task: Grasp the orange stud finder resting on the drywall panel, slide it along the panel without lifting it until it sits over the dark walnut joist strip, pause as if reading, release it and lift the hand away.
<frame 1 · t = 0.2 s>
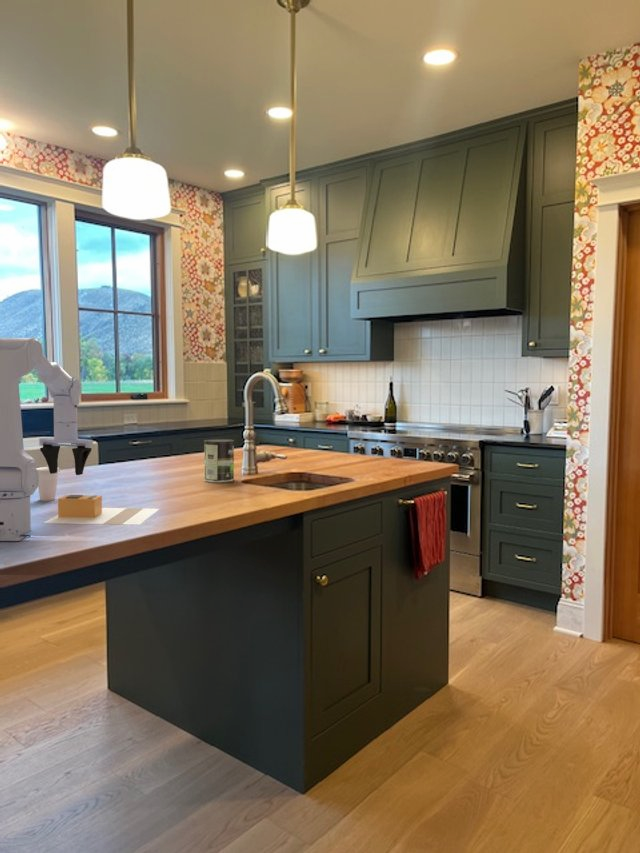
hand: (66, 473, 165), 10 cm above the countertop, fingers open, 7 cm apart
drywall panel: (104, 519, 157), on the countertop
smoothie: (47, 503, 176), on the countertop
coffee can: (219, 481, 219), on the countertop
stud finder: (80, 514, 157), point 1 cm above the countertop, touching drywall panel
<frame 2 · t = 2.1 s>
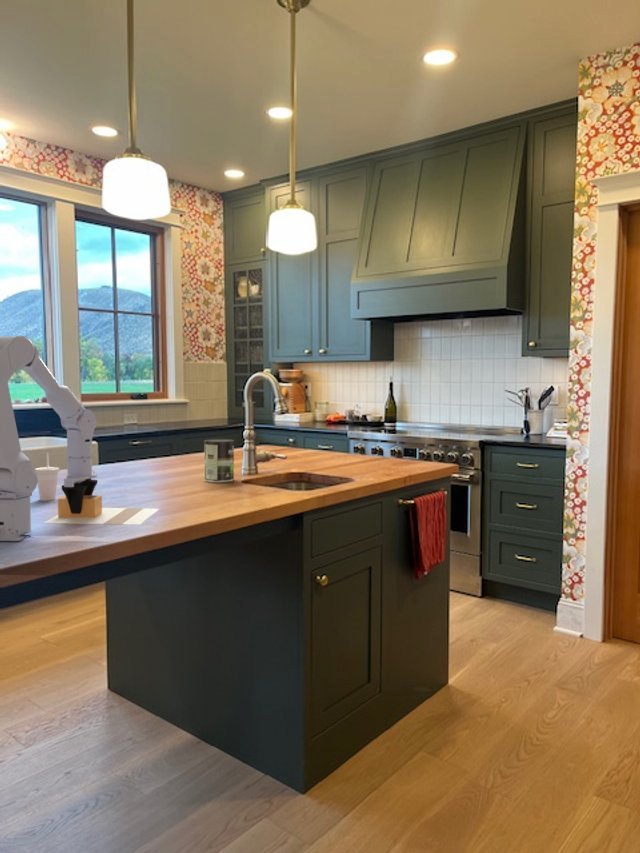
hand: (80, 511, 157), 2 cm above the countertop, fingers closed on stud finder, 5 cm apart
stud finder: (80, 514, 157), point 1 cm above the countertop, touching gripper, drywall panel
everything else where it was.
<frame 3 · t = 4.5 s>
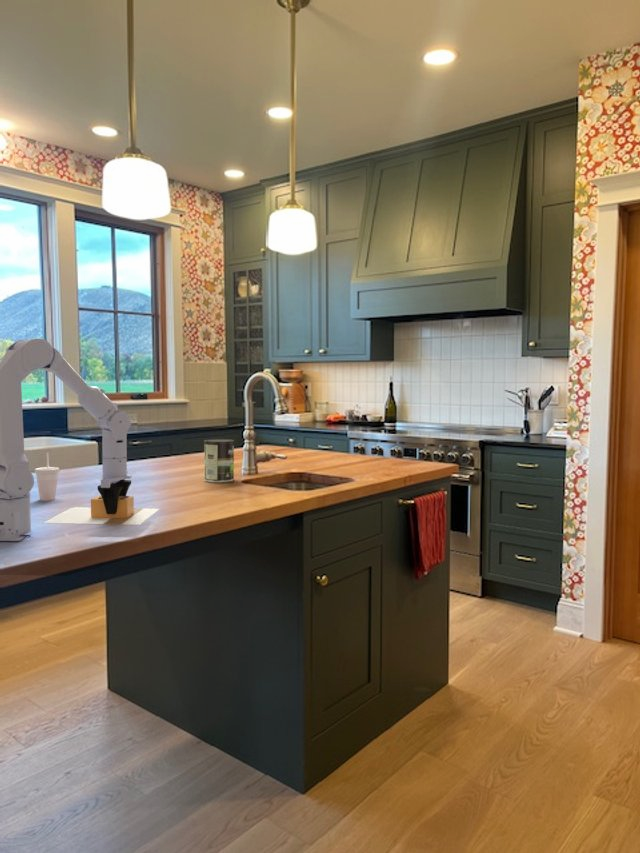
hand: (115, 511, 157), 2 cm above the countertop, fingers closed on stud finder, 5 cm apart
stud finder: (112, 515, 157), point 1 cm above the countertop, touching gripper
everything else where it was.
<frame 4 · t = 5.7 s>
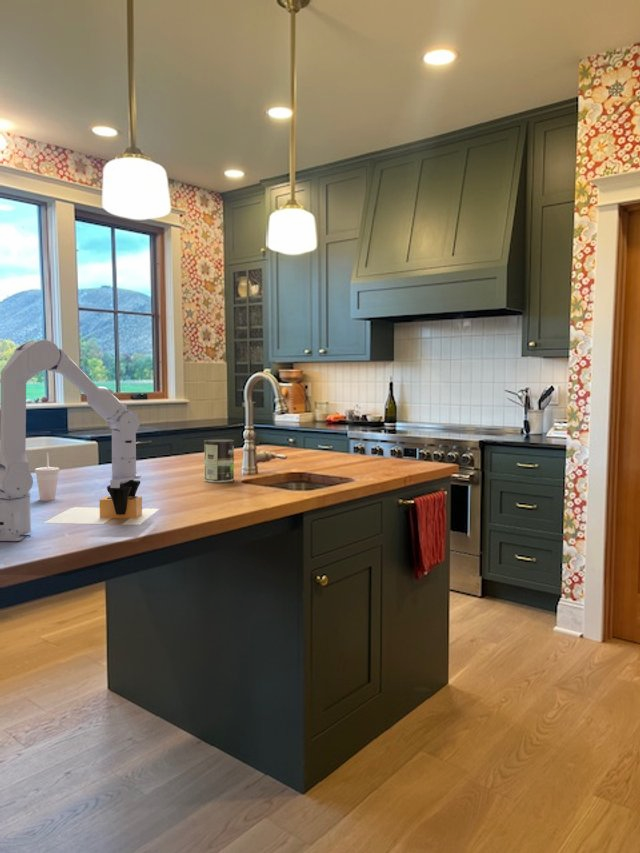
hand: (124, 511, 157), 2 cm above the countertop, fingers closed on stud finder, 5 cm apart
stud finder: (121, 515, 157), point 1 cm above the countertop, touching gripper, drywall panel
everything else where it was.
when the fingers open (2 cm above the countertop, at t = 6.9 s): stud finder stays where it is, resting on drywall panel.
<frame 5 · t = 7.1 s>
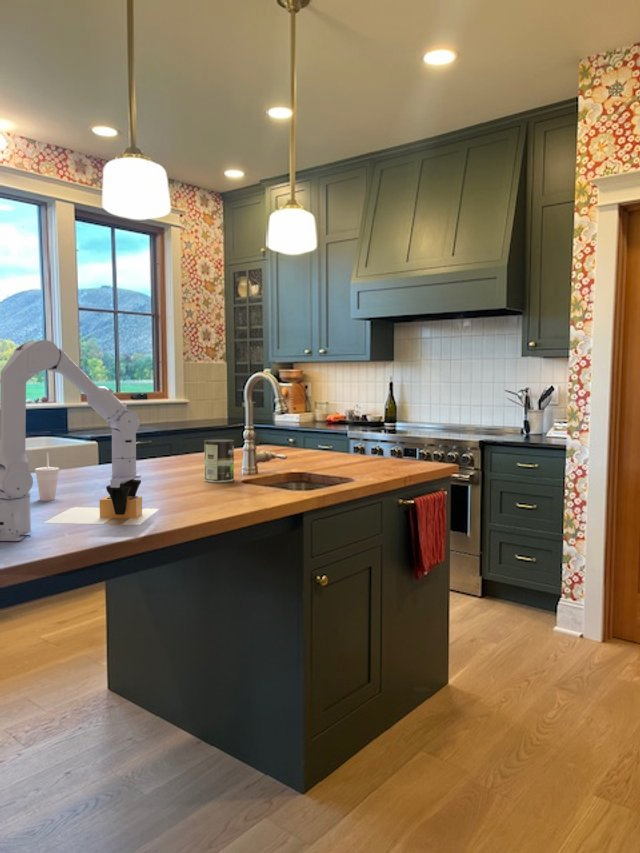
hand: (124, 511, 157), 2 cm above the countertop, fingers open, 6 cm apart
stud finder: (121, 515, 157), point 1 cm above the countertop, touching drywall panel
everything else where it was.
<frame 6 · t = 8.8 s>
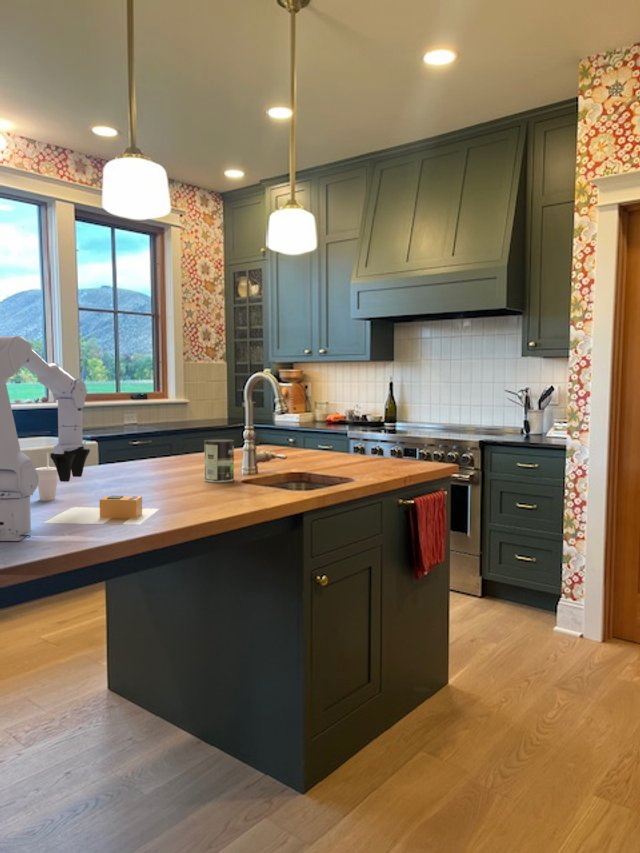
hand: (71, 479, 160), 9 cm above the countertop, fingers open, 7 cm apart
nothing on the countertop moved.
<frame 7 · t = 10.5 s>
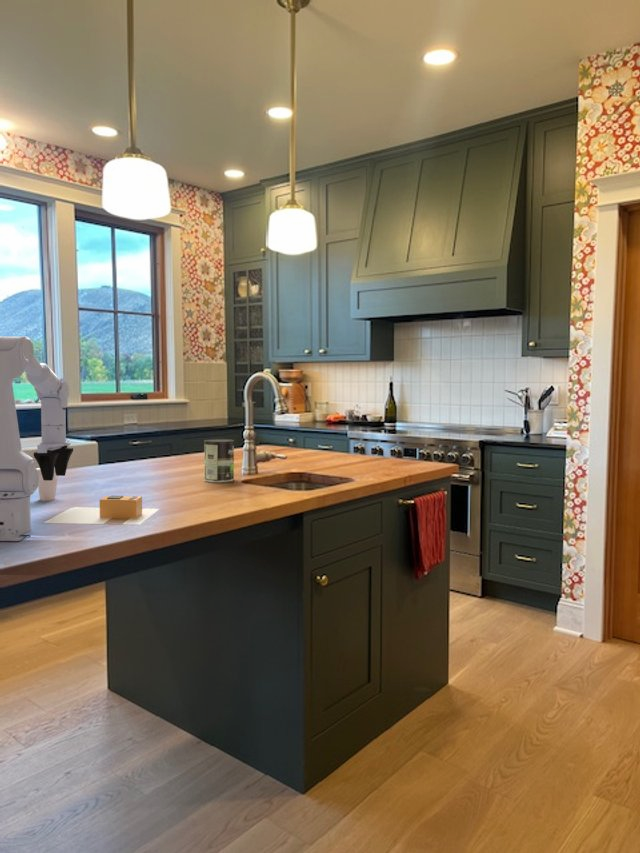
hand: (54, 477, 161), 9 cm above the countertop, fingers open, 7 cm apart
nothing on the countertop moved.
at the end: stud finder 0.8 cm from the target spot, point 1.0 cm above the countertop; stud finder tilted 0°; the gripper is holding nothing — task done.
